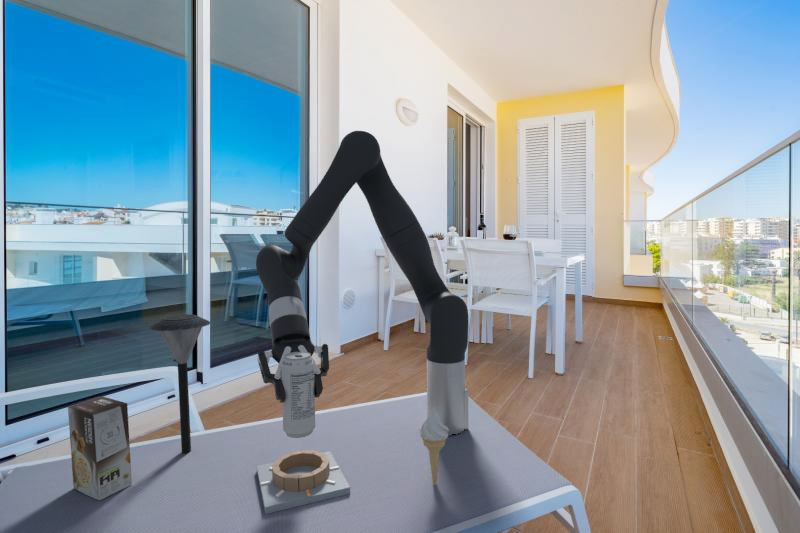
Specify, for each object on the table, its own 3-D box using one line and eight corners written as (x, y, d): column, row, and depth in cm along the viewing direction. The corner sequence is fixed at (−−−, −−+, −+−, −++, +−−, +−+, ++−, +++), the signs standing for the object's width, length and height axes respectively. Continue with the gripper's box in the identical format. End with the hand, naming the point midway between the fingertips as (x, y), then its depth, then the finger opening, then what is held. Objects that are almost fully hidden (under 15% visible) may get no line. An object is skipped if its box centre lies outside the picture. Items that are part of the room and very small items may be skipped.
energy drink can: (308, 423, 89) (307, 349, 88) (320, 434, 84) (318, 356, 83) (278, 430, 86) (276, 353, 85) (289, 442, 81) (287, 361, 80)
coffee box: (134, 484, 86) (129, 402, 85) (98, 502, 80) (93, 414, 79) (106, 473, 90) (101, 395, 89) (70, 489, 84) (65, 406, 83)
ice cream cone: (429, 495, 81) (429, 414, 80) (414, 480, 86) (413, 404, 85) (455, 487, 83) (455, 408, 82) (439, 473, 88) (438, 399, 87)
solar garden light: (216, 458, 95) (210, 319, 93) (151, 470, 91) (143, 324, 89) (216, 435, 107) (211, 310, 105) (158, 444, 102) (151, 314, 100)
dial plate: (330, 456, 96) (329, 439, 95) (350, 493, 82) (349, 473, 82) (256, 471, 90) (256, 453, 90) (265, 514, 76) (264, 493, 76)
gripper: (253, 315, 88) (261, 394, 78) (325, 310, 93) (341, 383, 83) (251, 336, 93) (259, 413, 83) (320, 330, 99) (335, 401, 89)
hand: (300, 397), depth 83 cm, fingers closed on energy drink can, 6 cm apart
